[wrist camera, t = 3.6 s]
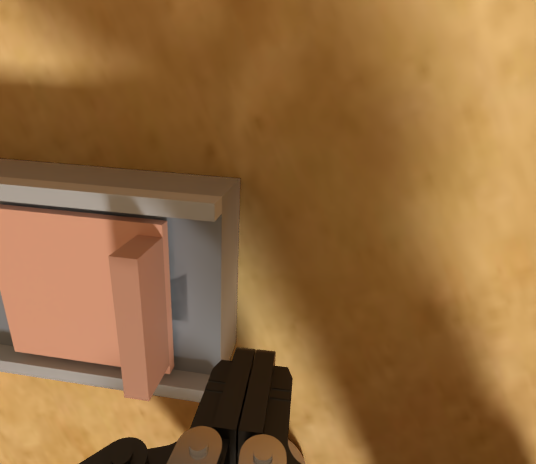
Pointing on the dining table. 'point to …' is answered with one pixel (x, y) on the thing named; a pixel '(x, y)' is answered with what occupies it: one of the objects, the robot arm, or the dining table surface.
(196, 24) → the dining table surface
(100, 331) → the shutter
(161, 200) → the socket block
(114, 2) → the dining table surface
